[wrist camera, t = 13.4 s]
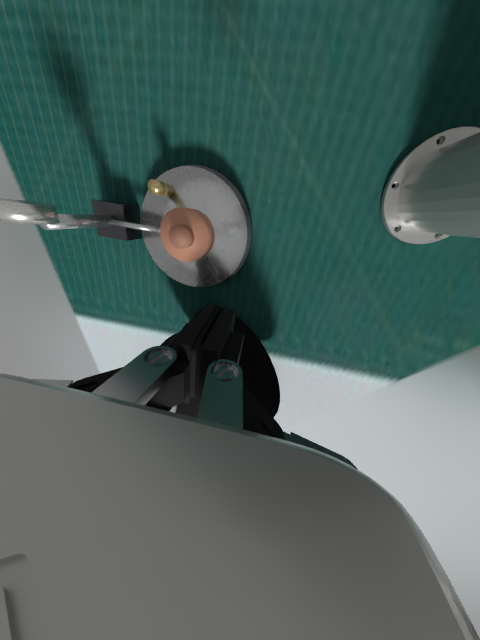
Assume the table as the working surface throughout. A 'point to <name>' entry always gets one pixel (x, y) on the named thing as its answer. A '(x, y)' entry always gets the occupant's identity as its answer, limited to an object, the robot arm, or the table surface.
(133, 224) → the metal lever
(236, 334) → the robot arm
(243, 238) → the disc
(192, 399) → the car wheel rim
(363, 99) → the table surface
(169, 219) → the cover
